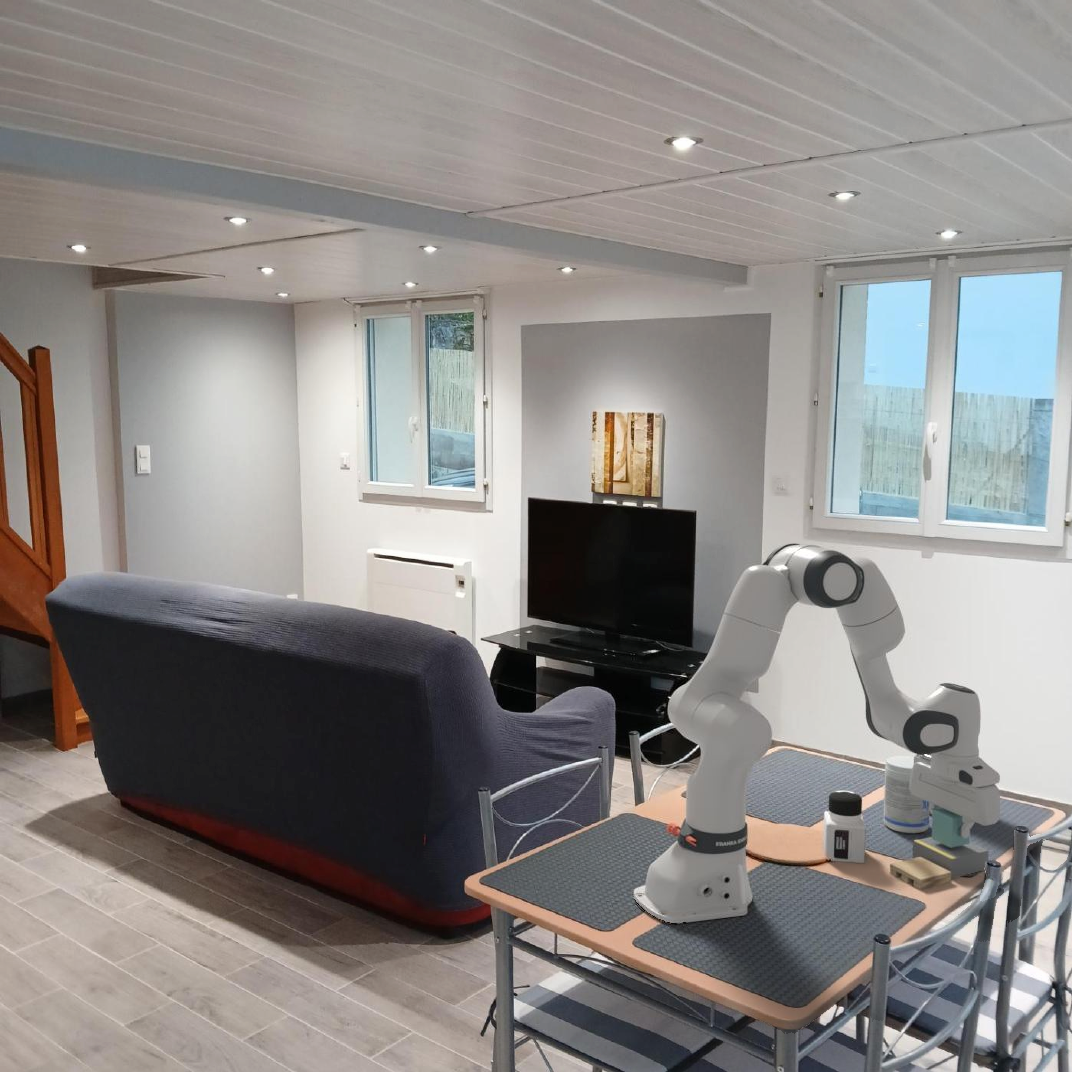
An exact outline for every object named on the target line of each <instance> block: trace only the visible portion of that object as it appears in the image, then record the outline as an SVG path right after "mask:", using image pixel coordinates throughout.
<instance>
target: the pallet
mask: <svg viewBox="0 0 1072 1072" xmlns="http://www.w3.org/2000/svg"><path fill="white" fill-rule="evenodd" d="M889 875H892V876H894V877H895V878H899V877H901V881H903V882H905V883H907V884H909V883H913V887H915V888H916V889H918V890H923V889H927V888H931V887H936V886H939V885H943V884H947V883H951V881H952V879H951V872H950V871H948V870H946V869H944V868H942V867H940V866H938V865H936V864H934V863H932V862H930V861H928V860H926V859H924V858H922V857H917V858H913V857H912V858H909V859H905V860H901V861H897V862H892V863H889Z"/></svg>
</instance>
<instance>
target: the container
mask: <svg viewBox="0 0 1072 1072" xmlns="http://www.w3.org/2000/svg"><path fill="white" fill-rule="evenodd" d="M862 798H863V797H861V795H859V794H858V793H856V792H853V791H850V790H835V791H833V792H831V793H829V795H828V811H827V810H825V811H824V813H823V830H822V831H823V833H822V834H823V839H822V845H823V844H824V848H823V851H824V850H825V854H824V857H825V856H826V857H830V859H831V862H844V863H852V864H853V863H856V864H864V863H865V861H866V839H867V838H866V837H867V836H866V835H867V834H866V833H867V828H866V824H865V819H864V815H863V813H862V812H863V799H862Z"/></svg>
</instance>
